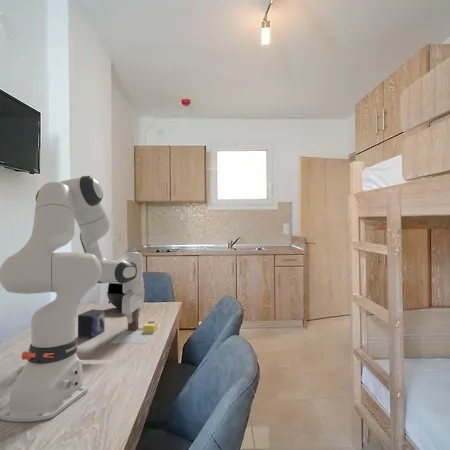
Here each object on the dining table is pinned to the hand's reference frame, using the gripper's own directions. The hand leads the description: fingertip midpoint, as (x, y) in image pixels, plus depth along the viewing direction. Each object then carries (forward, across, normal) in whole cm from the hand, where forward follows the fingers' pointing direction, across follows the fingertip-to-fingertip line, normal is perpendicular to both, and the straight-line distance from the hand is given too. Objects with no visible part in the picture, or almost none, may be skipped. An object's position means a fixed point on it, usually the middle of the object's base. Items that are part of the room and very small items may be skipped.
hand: (133, 319), depth 153 cm
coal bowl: (+5, +43, +18) cm, 47 cm away
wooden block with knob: (+4, 0, 0) cm, 4 cm away
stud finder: (+4, -1, -8) cm, 9 cm away
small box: (+6, -7, +16) cm, 18 cm away
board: (+5, -5, -3) cm, 8 cm away
